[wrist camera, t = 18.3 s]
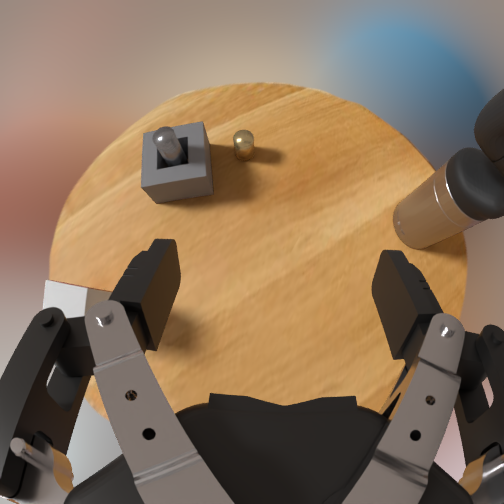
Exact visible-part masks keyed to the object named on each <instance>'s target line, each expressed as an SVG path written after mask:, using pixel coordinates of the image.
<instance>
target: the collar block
mask: <svg viewBox="0 0 504 504" xmlns="http://www.w3.org/2000/svg"><path fill="white" fill-rule="evenodd" d="M171 128H172V129H173V130H174V132H175V134H176V137H177V139H178V141H179V143H180V145H181V147H182V149H183V151H184V153H185V155H186V157H187V159H188V161H189V164H184V165H179V166H173V167H169V166H168V165H167V163H166V161H165V160H164V158H163V157H162V155H161V153H160V152H159V150H158V149H157V147H156V145H155V144H154V142H153V139H152V138H153V134H154V133H155V132H156V131H157V130H156V131H152V132H147V133H144V134H143V150H142V173H141V188H142V189H143V190H144V191H145V192H146V193H147V194H148V195H149V196H150V197H151V199H152V200H153V201H154V202H155V203H162V202H168V201H174V200H180V199H186V198H192V197H199V196H205V195H212V194H214V193H213V181H212V169H211V156H210V143H209V140H208V137H207V133H206V130H205V127H204V123H203V122H197V123H191V124H186V125H180V126H175V127H171Z"/></svg>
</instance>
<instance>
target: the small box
mask: <svg viewBox="0 0 504 504" xmlns="http://www.w3.org/2000/svg"><path fill="white" fill-rule="evenodd" d="M111 294H112V292H111V291H106V290H100V289H95V288H90V287H84V286H79V285H74V284H69V283H64V282H58V281H53V280H46V284H45V292H44V301H43V309H46V308H49V307H57V308H60V309H61V310H62V311H63V313H64V315H65V317H66V318H72V317H81V316H85V315H86V313H87V311H88V310H89V309H90V308H91V307H92V306H93V305H95V304H97V303H99V302H102V301H106V300H108V299H109V297H110V295H111Z"/></svg>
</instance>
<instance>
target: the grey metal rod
mask: <svg viewBox="0 0 504 504" xmlns="http://www.w3.org/2000/svg"><path fill="white" fill-rule="evenodd" d="M152 139H153V142H154V144H155V145H156V147H157V149H158V150H159V152H160V153H161V155H162V157H163V158H164V160H165V161H166V163H167V165H168V166H169V167H173V166H179V165H184V164H189V162H188V160H187V157H186V155H185V153H184V151H183V149H182V147H181V145H180V143H179V141H178V139H177V137H176V134H175V132H174V130H173V129H172V128H171V127H161V128H159V129H158V130H157V131H156V132H155V133H154V134H153V138H152Z"/></svg>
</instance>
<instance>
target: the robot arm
mask: <svg viewBox="0 0 504 504" xmlns="http://www.w3.org/2000/svg"><path fill="white" fill-rule="evenodd" d="M474 133H475V138H476V141H477V143H478V145H479V146H480V148H481V149H482V151H481V150H478V149H475V148H464V149H462V150H460V151H458V152H457V153H456V154H455V155H454V156H453V157H451V159H449V160H448V161H447V162H446V163H445V164H444V165H443V166H442V167H441V168H439V169H438V170H437V171H436V172H435V173H434V174H433V175H432V176H430V177H429V178H428V179H427V180H426V181H425V182H423V183H422V184H421V185H420V186H419V187H418V188H417V189H415V190H414V191H413V192H412V193H411V194H409V195H408V196H407V197H406V198H405V199H403V200H402V201H401V202H400V203H399V204H398V205H397V207H396V209H395V211H394V215H393V222H394V227H395V231H396V233H397V235H398V237H399V238H400V239H401V240H402V241H403V242H404V243H405V244H406V245H407V246H409V247H411V248H414V249H423V248H426V247H428V246H430V245H433V244H435V243H437V242H440V241H442V240H444V239H446V238H449V237H451V236H453V235H455V234H457V233H460V232H462V231H464V230H466V229H468V228H470V227H472V226H474V225H476V224H478V223H481V222H483V221H485V220H487V219H496V218H499V217H502V216H504V89H503V90H501V91H500V92H499V93H498V94H497V95H495V96H494V97H493V98H492V99H491V100H490V101H489V102H488V103H487V104H486V105H485V107H484V108H483V109H482V111H481V112H480V114H479V116H478V118H477V120H476V123H475V128H474ZM180 280H181V272H180V265H179V259H178V252H177V245H176V242H175V240H174V239H155V240H154V241H153V243H152V245H151V246H150V248H149V250H148V251H142V252H140V253H139V254H138V255H137V256H135V257H134V258H133V259H132V261H131V262H130V264H129V265H128V269H126V270H125V272H124V274H123V276H122V277H121V279H120V280H119V282H118V284H117V285H116V287H115V289H114V290H113V292H112V294H111V295H110V297H109V299H108V300H106V301H102V302H99V303H97V304H95V305H93V306H92V307H91V308H90V309H89V310H88V311H87V313H86V315H85V316H81V317H72V318H66V317H65V315H64V313H63V311H62V310H61V309H60V308H57V307H49V308H46V309H43V310H42V311H40V312H39V313H38V314H37V315H36V316H35V317H34V318H33V320H32V321H31V323H30V325H29V327H28V328H27V330H26V332H25V333H24V335H23V337H22V339H21V340H20V342H19V344H18V346H17V348H16V349H15V351H14V353H13V355H12V357H11V359H10V361H9V363H8V365H7V367H6V369H5V371H4V373H3V375H2V377H1V379H0V497H2V498H5V499H7V500H9V501H12V502H14V503H16V504H504V331H503V330H502V329H500V328H499V327H497V326H495V325H487V326H485V327H484V328H483V330H482V331H481V333H480V334H476V333H471V332H467V331H465V330H464V327H463V325H462V324H461V322H460V321H459V320H458V319H456V318H455V317H453V316H452V315H449V314H446V313H443V311H442V309H441V307H440V305H439V303H438V301H437V299H436V298H435V296H434V294H433V292H432V290H430V287H429V285H428V283H427V282H426V280H425V278H424V276H423V274H422V273H421V271H420V270H419V269H417V268H416V267H415V266H414V265H413V264H411V263H409V262H408V260H407V258H406V257H405V255H404V253H403V252H402V251H399V250H383V251H382V253H381V255H380V259H379V262H378V265H377V269H376V272H375V275H374V278H373V282H372V296H373V299H374V302H375V304H376V307H377V310H378V313H379V316H380V319H381V322H382V325H383V328H384V331H385V334H386V338H387V341H388V344H389V347H390V351H391V354H392V357H393V360H397V359H404V360H405V365H404V366H403V368H402V370H401V372H400V374H399V376H398V378H397V380H396V382H395V384H394V386H393V388H392V390H391V392H390V394H389V396H388V398H387V400H386V401H385V403H384V405H383V406H382V408H381V410H380V411H379V412H376V411H373V410H371V409H369V408H365V407H362V406H357V401H356V396H344V397H322V398H318V399H314V400H310V401H306V402H301V403H297V404H293V405H288V406H282V405H278V404H274V403H270V402H266V401H262V400H258V399H255V398H251V397H248V396H237V395H225V394H214V393H210V397H209V403H202V404H198V405H194V406H191V407H188V408H185V409H183V410H181V411H179V412H177V413H175V414H174V412H173V410H172V408H171V406H170V405H169V403H168V401H167V399H166V397H165V395H164V393H163V392H162V390H161V388H160V386H159V384H158V382H157V380H156V378H155V376H154V374H153V372H152V370H151V368H150V366H149V364H148V362H147V359H146V357H145V355H144V354H145V352H146V349H147V350H153V351H157V348H158V345H159V342H160V340H161V337H162V334H163V331H164V328H165V325H166V322H167V320H168V317H169V314H170V311H171V308H172V306H173V303H174V300H175V297H176V295H177V292H178V289H179V286H180ZM54 364H55V366H56V367H55V369H54V372H53V374H52V377H51V379H50V381H49V383H48V386H47V385H46V384H47V380H48V377H49V375H50V373H51V370H52V368H53V366H54ZM91 375H94V376H95V379H96V382H97V385H98V389H99V392H100V395H101V398H102V401H103V404H104V407H105V409H106V412H107V415H108V418H109V420H110V423H111V426H112V428H113V431H114V433H115V435H116V438H117V440H118V443H119V445H120V447H121V450H122V452H123V454H121V455H120V456H119V457H117V458H116V459H115V460H113V461H112V462H111V463H109V464H108V465H106V466H105V467H103V468H102V469H101V470H99V471H98V472H96V473H95V474H94V475H92V476H91V477H89V478H88V479H86V480H85V481H83V482H82V483H80V484H79V485H77V486H76V487H73V484H72V481H73V478H74V476H73V473H72V467H71V463H70V461H69V459H68V458H67V457H66V454H67V450H68V447H69V443H70V440H71V436H72V433H73V429H74V426H75V422H76V419H77V416H78V413H79V410H80V407H81V404H82V400H83V398H84V395H85V392H86V389H87V386H88V383H89V381H90V378H91ZM486 377H488V380H489V383H490V385H491V388H492V391H493V395H494V399H493V403H492V405H491V407H490V408H489V405H488V401H487V398H486V395H485V392H484V389H483V386H482V382H483V381H484V380H485V378H486ZM453 407H454V409H455V414H456V417H457V422H458V426H459V431H460V436H461V441H462V446H463V451H464V457H465V464H466V468H465V471H464V473H463V477H462V478H461V479H460V480H459V482H458V483H457V481H455V480H454V479H453V478H452V477H451V476H450V475H449V474H448V473H446V472H445V471H444V470H443V469H442V468H441V467H439V466H438V465H437V464H436V463H435V462H434V458H435V456H436V454H437V451H438V449H439V446H440V444H441V441H442V439H443V436H444V434H445V431H446V428H447V425H448V422H449V419H450V417H451V414H452V411H453Z"/></svg>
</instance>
